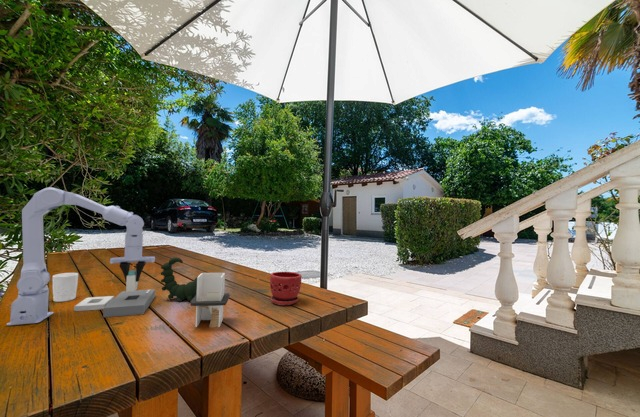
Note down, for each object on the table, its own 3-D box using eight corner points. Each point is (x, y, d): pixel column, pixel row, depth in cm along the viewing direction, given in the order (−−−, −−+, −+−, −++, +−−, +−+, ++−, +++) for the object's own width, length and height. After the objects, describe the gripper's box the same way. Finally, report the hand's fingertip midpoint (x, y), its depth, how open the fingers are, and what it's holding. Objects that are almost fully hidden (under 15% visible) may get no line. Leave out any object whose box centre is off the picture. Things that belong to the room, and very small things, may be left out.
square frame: (104, 309, 105) (104, 304, 105) (74, 311, 102) (74, 306, 102) (113, 300, 115) (114, 295, 115) (86, 302, 112) (86, 297, 112)
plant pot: (295, 308, 112) (296, 278, 113) (264, 305, 115) (265, 275, 115) (304, 299, 125) (304, 271, 125) (275, 296, 128) (276, 269, 128)
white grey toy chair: (155, 342, 81) (157, 284, 81) (180, 312, 105) (182, 268, 105) (245, 337, 85) (246, 283, 86) (250, 310, 109) (251, 267, 110)
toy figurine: (158, 307, 114) (220, 303, 114) (155, 260, 114) (217, 256, 115) (170, 299, 124) (227, 296, 124) (168, 256, 124) (225, 253, 124)
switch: (143, 314, 101) (143, 304, 102) (103, 317, 97) (103, 307, 97) (155, 296, 122) (155, 288, 122) (122, 298, 118) (122, 290, 118)
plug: (134, 291, 108) (135, 271, 108) (126, 291, 107) (126, 272, 107) (137, 288, 112) (138, 269, 112) (129, 288, 111) (129, 269, 111)
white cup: (65, 302, 111) (66, 277, 111) (45, 302, 111) (46, 276, 111) (82, 296, 119) (83, 272, 119) (64, 296, 119) (65, 272, 119)
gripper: (156, 244, 116) (155, 277, 116) (114, 245, 111) (113, 279, 111) (153, 246, 110) (152, 282, 110) (108, 247, 105) (107, 284, 104)
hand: (132, 281), depth 110 cm, fingers closed on plug, 3 cm apart
